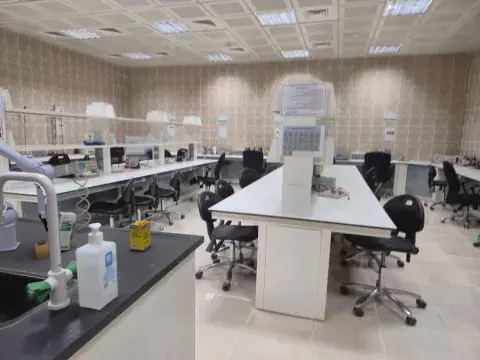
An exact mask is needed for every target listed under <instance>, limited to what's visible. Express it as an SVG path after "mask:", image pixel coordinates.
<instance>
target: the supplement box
mask: <svg viewBox="0 0 480 360" xmlns="http://www.w3.org/2000/svg"><path fill="white" fill-rule="evenodd" d="M129 242H130V244H129V245H130V251H131V250H133V251H132V252H143V253H144V252H146V250H148V249H149V248H151V246H152V244H151V243H152V242H151V221H150V220H137V219H136V221H135V222H132V223H129Z"/></svg>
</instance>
